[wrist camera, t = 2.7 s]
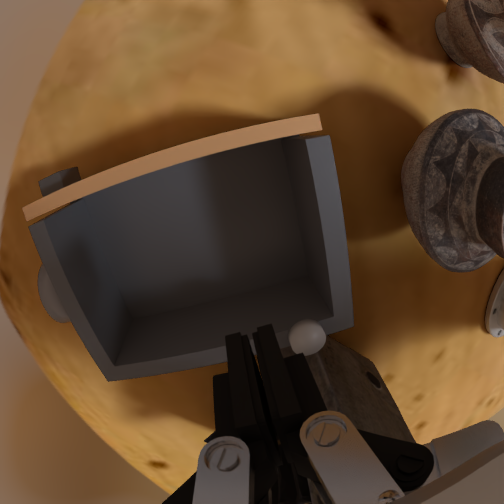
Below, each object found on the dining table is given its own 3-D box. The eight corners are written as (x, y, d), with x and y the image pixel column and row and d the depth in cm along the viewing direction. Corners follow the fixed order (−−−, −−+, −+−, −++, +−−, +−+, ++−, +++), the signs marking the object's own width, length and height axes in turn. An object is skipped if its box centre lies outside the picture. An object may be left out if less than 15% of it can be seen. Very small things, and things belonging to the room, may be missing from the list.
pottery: (494, 36, 16) (578, 28, 5) (445, 255, 24) (535, 319, 13) (413, -29, 14) (496, -73, 3) (349, 221, 22) (453, 299, 10)
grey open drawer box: (291, 120, 18) (330, 111, 12) (322, 283, 23) (359, 339, 16) (51, 195, 18) (-8, 223, 11) (111, 334, 23) (85, 395, 16)
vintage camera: (197, 409, 28) (200, 591, 9) (299, 308, 24) (394, 562, 5) (269, 433, 31) (297, 584, 12) (369, 351, 27) (460, 525, 8)
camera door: (288, 105, 17) (313, 93, 12) (295, 132, 18) (322, 130, 13) (59, 176, 17) (16, 190, 12) (67, 200, 17) (26, 221, 13)
